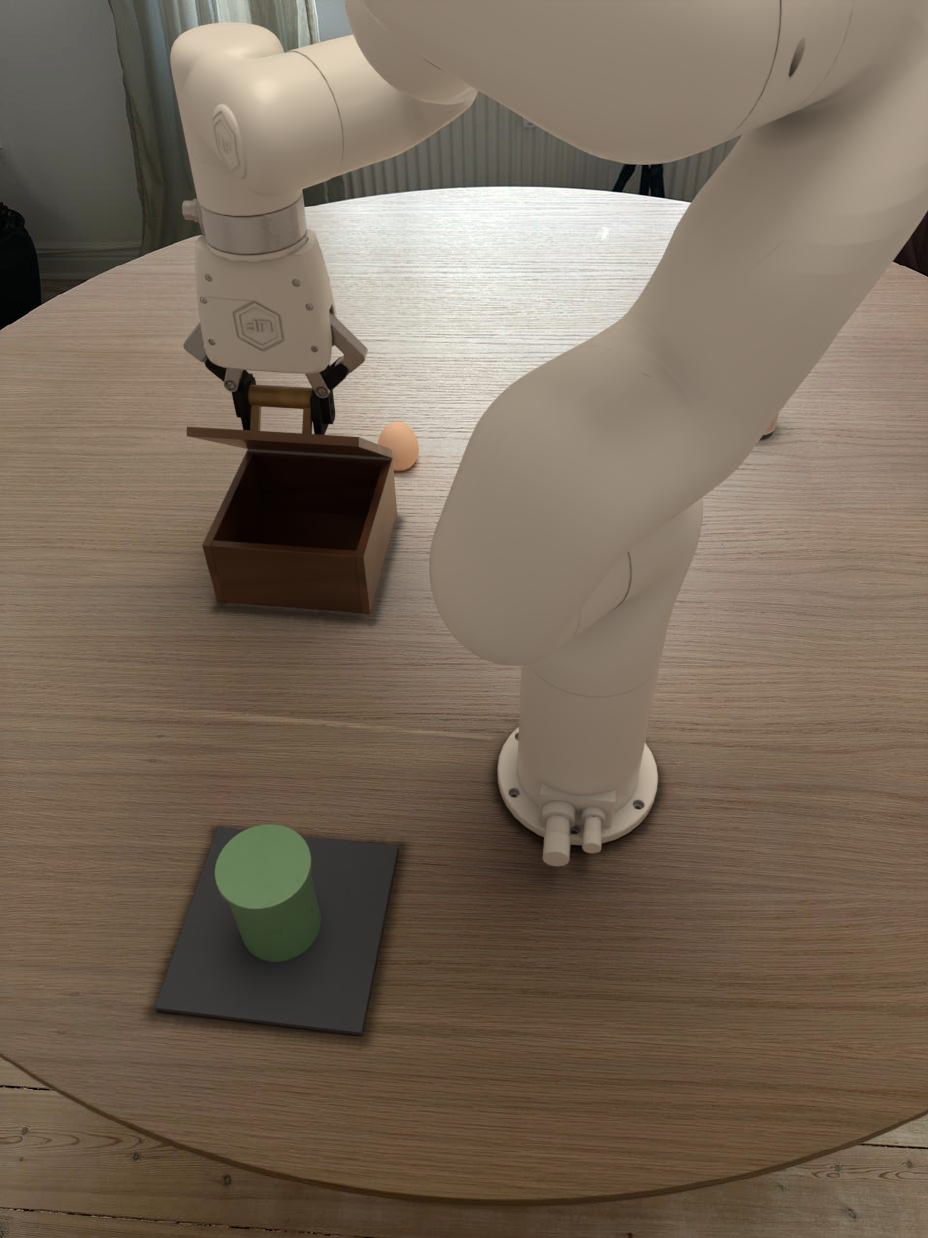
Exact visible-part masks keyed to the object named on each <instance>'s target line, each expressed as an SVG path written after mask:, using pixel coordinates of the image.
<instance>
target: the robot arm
mask: <svg viewBox="0 0 928 1238" xmlns="http://www.w3.org/2000/svg"><path fill="white" fill-rule="evenodd" d="M344 7H345V12H346V16H347V21H348V24H349V27H350V30H351V33H352V34H349V35H345V36H341V37H337V38H332V39H327V40H324V41H320V42H316V43H313V44H309V45H305V46H302V47H298V48H294V49H290V50H287V51H285V50H284V47H283V45H282V43H281V41H280V39H279V38H278V37H277V35H276V34H275V33H274V32H272V31H271V30H269V29H268V28H266V27H264V26H261V25H257V24H253V23H249V22H239V21H225V22H224V21H223V22H213V23H207V24H203V25H198V26H195V27H193V28H191V29H189V30H186V31H184V32H183V33H181V34H180V35H178V37H177V38H176V39H175V40H174V42H173V44H172V45H171V49H170V56H169V57H170V58H169V59H170V70H171V75H172V80H173V86H174V90H175V94H176V96H175V97H176V100H177V105H178V110H179V115H180V120H181V125H182V130H183V135H184V141H185V144H186V150H187V155H188V160H189V165H190V170H191V176H192V179H193V184H194V185H193V186H194V190H195V194H196V198H193V199H192V200H183V202H182V205H181V213H182V217H183V219H184V220H185V221H193V222H194V223H198V224H199V227H200V232H201V234H200V236H199V237H197V239H196V241H195V244H194V270H195V271H194V272H195V286H196V287H195V288H196V296H197V297H196V299H197V308H198V316H199V322H198V323H197V325H196V326H195V327H194V328H193V329H192V331H191V332H190V333H189V335H188V336H187V338H186V339H185V340H184V342H183V345H182V346H183V349H184V351H186V352H187V353H189V355H191V356H192V357H194V358H195V359H196V360H197V361H199V362H200V363H203V364H204V366H205V368H206V369H207V370H209V372H211V373H212V374H213V375H214V376H215V377H216V378H218V379H219V380H221V382H223V387H224V389H225V390H226V391H228V392H230V393H231V398H232V403H233V406H234V411H235V416H236V418H239V419H240V421H241V427H242V430H250V426H251V406H250V404H249V401H248V389H249V386H250V385H251V384H254V385H257V380H256V377H255V376H254V374H253V373H251V372H253V371H254V372H255V371H256V372H267V373H281V374H282V373H285V374H299V375H302V374H303V375H305V377H306V379H307V381H308V383H309V384H310V387H311V388H313V393H312V395H311V397H310V407H311V414H312V429H313V434H319V435H326V433H327V430H328V427H329V425H334V423H335V420H336V406H335V398H334V390H335V389H336V388H337V387H338V386H339V385H340V384H341V383H342V382H343V381H344V380H345V379H346V378H347V377H348V375H349V374H351V373H353V372H354V371H355V370H356V369H357V368H359V367H360V366H361V365H363V364H364V363H365V362H366V360H367V356H368V353H369V350H368V348H367V346H366V345H365V344H364V343H363V342H362V341H361V340H359V339H358V338H357V336H355V334H353V333H352V332H351V331H350V330H349V328H347V326H345V325H344V324H343V323H342V322H341V320H339V319H338V318H337V317H338V316H337V311H336V304H335V299H334V295H333V290H332V285H331V280H330V276H329V272H328V268H327V264H326V262H325V257H324V255H323V251H322V248H321V245H320V242H319V239H318V237H317V234H316V232H315V231H314V230H313V229H309V228H308V225H307V217H306V207H305V201H304V193H303V190H304V189H307V188H311V187H313V186H316V185H319V184H321V183H324V182H327V181H329V180H331V179H333V178H336V177H338V176H342V175H344V174H347V173H350V172H353V171H357V170H359V169H362V168H364V167H368V166H370V165H374V164H377V163H380V162H383V161H386V160H388V159H392V158H394V157H396V156H399V155H401V154H403V153H405V152H407V151H408V150H411V149H412V148H414V147H416V146H417V145H419V144H420V143H422V142H423V141H426V139H428V138H429V137H431V136H433V135H434V134H435V133H437V132H438V131H440V130H441V129H442V128H444V127H445V126H447V125H448V124H450V123H452V122H453V121H454V120H456V119H457V118H458V117H460V116H461V115H463V113H465V112H466V111H467V110H468V109H469V108H470V107H471V106H472V105H473V104H474V102H475V100H476V98H477V95H478V93H481V94H483V95H485V96H486V97H488V98H490V99H492V100H493V101H495V102H497V103H499V104H500V105H502V106H503V107H504V108H506V109H508V110H510V111H512V112H514V113H515V114H517V115H518V116H520V117H522V118H523V119H525V120H527V121H528V122H530V123H532V124H534V125H535V126H537V127H538V128H540V129H542V130H543V131H545V132H547V133H548V134H549V135H551V136H554V137H556V138H557V139H559V140H561V141H563V142H565V143H566V144H569V145H570V146H572V147H574V148H576V149H578V150H580V151H582V152H584V153H586V154H589V155H592V156H594V157H597V158H600V159H603V160H608V161H611V162H612V161H613V162H616V163H622V164H626V165H640V166H641V165H660V164H667V163H671V162H676V161H679V160H682V159H686V158H688V157H691V156H694V155H697V154H700V153H702V152H705V151H708V150H710V149H712V148H714V147H717V146H718V145H721V144H723V143H725V142H728V141H730V140H733V139H735V138H738V137H739V136H740V137H739V138H738V140H737V142H736V144H735V145H734V146H733V148H732V149H731V150H730V152H729V153H728V154H727V156H726V157H725V158H724V159H723V161H722V162H721V163H720V165H719V166H718V167H717V168H716V170H715V171H714V172H713V174H712V175H711V176H710V177H709V178H708V180H707V181H706V182H705V184H703V186H702V187H701V189H700V190H699V191H698V193H697V194H695V197H694V198H693V199H692V201H691V202H690V203H689V205H688V207H687V208H686V210H685V211H684V213H683V214H682V216H681V218H680V219H679V221H678V223H677V224H676V227H675V228H674V230H673V233H672V235H671V238H670V239H669V241H668V244H667V246H666V248H665V250H664V252H663V255H662V257H661V259H660V260H659V262H658V264H657V266H656V268H655V269H654V271H653V273H652V275H651V276H650V278H649V280H648V282H647V283H646V285H645V287H644V288H643V290H642V292H641V293H640V294H639V296H638V298H637V299H636V300H635V302H634V303H633V304H632V306H630V308H629V309H628V311H627V312H626V313H625V314H624V315H623V316H622V317H621V318H620V319H618V320H617V321H616V322H614V323H613V324H611V325H610V326H608V327H606V328H605V329H604V330H601V332H599V333H597V334H595V335H594V336H592V337H590V338H589V339H587V340H586V341H584V342H581V343H580V344H578V345H576V346H574V347H572V348H571V349H568V350H566V351H565V352H563V353H561V354H559V355H558V356H556V357H554V358H552V359H550V360H548V361H546V362H545V363H542V364H541V365H539V366H537V367H535V368H534V369H532V370H531V371H529V372H527V373H525V374H524V375H522V376H521V377H519V378H517V380H515V381H514V382H512V383H511V384H510V385H509V386H508V387H506V388H505V389H504V390H503V391H502V392H501V393H500V394H499V395H498V396H497V397H496V398H495V399H494V400H493V401H492V402H491V403H490V405H489V406H488V407H487V409H485V411H484V412H483V414H482V415H481V416H480V418H479V419H478V421H477V422H476V424H475V427H474V428H473V431H472V433H471V435H470V438H469V439H468V442H467V444H466V447H465V449H464V452H463V455H462V457H461V460H460V462H459V465H458V467H457V471H456V472H455V476H454V479H453V481H452V484H451V486H450V489H449V492H448V495H447V497H446V500H445V502H444V505H443V508H442V510H441V512H440V515H439V518H438V521H437V524H436V526H435V528H434V532H433V537H432V539H431V544H430V551H429V559H428V561H429V562H428V572H429V583H430V589H431V594H432V597H433V600H434V604H435V606H436V609H437V611H438V614H439V616H440V618H441V620H442V622H443V624H444V626H445V627H446V628H447V630H448V631H449V633H450V634H451V636H453V638H454V639H455V640H456V641H457V642H458V643H459V644H460V645H461V646H462V647H463V648H465V649H466V650H468V651H469V652H470V653H472V654H473V655H475V656H477V657H478V658H480V659H482V660H485V661H487V662H490V663H492V664H497V665H501V666H502V665H503V666H510V667H511V666H514V667H515V666H521V667H520V687H519V690H520V691H519V710H518V712H519V713H518V714H519V715H518V726H517V727H516V728H515V729H514V730H513V731H512V732H511V734H510V735H509V736H508V738H507V739H506V740H505V742H504V744H503V745H502V748H501V750H500V753H499V755H498V761H497V784H498V789H499V793H500V796H501V798H502V800H503V803H504V804H505V806H506V808H507V809H508V810H509V812H510V813H511V815H512V816H513V817H514V818H515V819H516V820H517V821H518V822H519V823H520V824H521V825H523V826H524V827H525V828H527V829H528V830H530V831H531V832H533V833H535V834H536V835H538V836H539V837H542V838H544V839H543V849H542V850H543V851H542V861H543V862H544V863H545V864H546V865H548V866H552V867H564V866H566V865H568V864H569V862H570V856H571V855H570V854H571V846H581V848H582V851H583V852H585V853H588V854H597V853H600V852H601V850H602V844H605V843H608V842H612V841H616V840H617V839H619V838H621V837H623V836H625V835H628V834H629V833H631V832H632V831H633V830H634V829H636V828H637V827H638V826H639V825H641V824H642V822H643V821H644V820H645V819H646V817H647V816H648V815H649V813H650V811H651V809H652V808H653V804H654V803H655V799H656V795H657V792H658V785H659V783H658V782H659V773H658V767H657V762H656V760H655V757H654V754H653V752H652V750H651V749H650V747H649V746H648V744H647V742H646V741H647V740H646V739H647V734H648V729H649V725H650V724H649V723H650V719H651V713H652V708H653V703H654V697H655V692H656V687H657V681H658V677H659V676H658V675H659V671H660V666H661V662H662V658H663V652H664V647H665V642H666V637H667V633H668V629H669V625H670V621H671V617H672V613H673V610H674V607H675V604H676V601H677V599H678V596H679V593H680V591H681V588H682V586H683V583H684V582H685V579H686V576H687V574H688V572H689V569H690V567H691V565H692V562H693V560H694V557H695V554H696V550H697V548H698V545H699V542H700V537H701V532H702V527H703V521H704V499H703V498H704V497H705V496H707V495H708V494H709V493H710V492H712V491H713V490H714V489H716V488H717V487H718V486H720V484H722V483H723V482H725V481H726V480H727V479H728V478H729V477H731V476H732V475H733V474H734V473H735V472H736V471H737V470H738V469H739V468H740V466H741V465H742V464H743V463H744V462H745V461H746V459H747V458H748V457H749V455H750V454H751V453H752V451H753V450H754V448H755V447H756V445H757V444H758V443H759V441H760V440H761V438H762V437H763V436H764V435H763V434H764V433H765V431H766V430H767V428H768V427H769V425H770V424H771V423H772V421H773V420H774V418H775V417H776V416H777V414H778V413H779V414H780V412H781V411H782V409H783V408H784V407H785V405H786V404H787V403H788V402H789V400H790V399H791V398H792V397H793V395H794V394H795V393H796V391H797V390H798V389H799V388H800V386H801V385H802V384H803V382H804V381H805V380H806V378H807V377H808V375H809V374H810V373H812V371H813V369H814V368H815V367H816V365H817V364H818V363H819V362H820V360H821V359H822V358H823V356H824V355H825V353H826V352H827V350H828V349H829V348H830V346H831V344H832V343H833V342H834V340H835V339H836V337H837V336H838V334H839V333H840V332H841V330H842V329H843V328H844V326H845V325H846V324H847V322H848V321H849V319H850V318H851V317H852V315H853V314H854V313H855V311H856V310H857V309H858V307H859V306H860V305H861V303H862V302H863V301H864V300H865V298H866V297H867V296H868V295H869V294H870V292H871V291H872V289H873V288H874V287H875V286H876V284H877V283H878V281H879V280H880V279H881V278H882V276H883V275H884V273H886V271H887V270H888V268H889V267H890V266H891V264H892V263H893V262H894V260H895V259H896V258H897V256H899V253H900V252H901V251H902V249H903V248H904V246H905V245H906V243H907V242H908V241H909V240H910V238H911V236H912V235H913V233H914V232H915V231H916V229H917V228H918V226H919V225H920V223H921V222H922V220H923V219H924V217H925V216H926V214H927V213H928V0H344ZM334 346H335V347H336V348H337V349H338V350H339V351H340V352H341V353H342V354H343V355H342V356H339V357H338V358H336V360H334V361H333V362H332V363H331V359H332V351H333V350H332V349H333V347H334ZM249 371H251V372H250V373H249ZM779 414H778V415H779Z"/></svg>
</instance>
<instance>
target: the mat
mask: <svg viewBox="0 0 928 1238" xmlns="http://www.w3.org/2000/svg"><path fill="white" fill-rule="evenodd" d="M242 831H244V830H241V829H232V828H222V827H217V829H216V831H215V834H214V837H213V839H212V843H211V846H210V849H209V852H208V855H207V857H206V860H205V863H204V866H203V869H202V872H201V875H200V877H199V880H198V884H197V886H196V888H195V892H194V894H193V897H192V900H191V903H190V906H189V909H188V912H187V915H186V918H185V921H184V923H183V926H182V929H181V932H180V935H179V937H178V941H177V943H176V947H175V949H174V952H173V955H172V957H171V958H172V959H171V960H170V964H169V966H168V969H167V972H166V975H165V978H164V980H163V983H162V986H161V989H160V991H159V995H158V998H157V1001H156V1003H155V1006H154V1009H155V1010H156V1012H165V1013H173V1014H181V1015H189V1016H199V1017H206V1018H213V1019H214V1018H215V1019H223V1020H230V1021H238V1022H239V1021H240V1022H246V1023H256V1024H263V1025H272V1026H279V1027H288V1028H297V1029H304V1030H305V1029H306V1030H313V1031H314V1030H315V1031H322V1032H329V1033H338V1034H346V1035H354V1036H363V1034H364V1033H363V1032H364V1028H365V1023H366V1018H367V1012H368V1007H369V1004H370V1003H369V1001H370V997H371V993H372V992H371V991H372V987H373V982H374V977H375V973H376V966H377V961H378V955H379V951H380V946H381V940H382V936H383V930H384V925H385V921H386V916H387V910H388V906H389V900H390V894H391V891H392V890H391V889H392V884H393V880H394V875H395V871H396V870H395V869H396V864H397V859H398V854H399V846H398V845H389V844H381V843H379V844H378V843H371V842H370V843H368V842H359V841H349V840H341V839H331V838H320V837H313V836H312V837H310V836H302V835H300V836H301V837H302V838H303V839H304V840H305V842H306V843H307V845H308V847H309V850H310V854H311V858H312V870H311V877H312V881H313V886H314V890H315V894H316V898H317V902H318V906H319V910H320V915H321V925H320V930H319V933H318V935H317V937H316V939H315V941H314V942H313V943H312V945H311V946H310V947H309V948H308V949H307V950H306V951H305V952H303V953H302V954H300V955H299V956H297V957H295V958H293V959H290V960H287V961H282V962H270V961H265V960H262V959H260V958H258V957H256V956H254V955H253V954H252V953H251V952H250V951H249V950H248V949H247V948H246V946H245V944H244V942H243V940H242V937H241V934H240V932H239V929H238V926H237V924H236V921H235V918H234V916H233V913H232V910H231V908H230V905H229V903H228V902H226V901H225V899H224V898H223V897H222V896H221V894H220V892H219V890H218V887H217V884H216V880H215V866H216V862H217V859H218V857H219V854H220V853H221V851H222V849H223V848H224V847H225V845H226V844H227V843H228V842H229V841H230V840H231V839H232V838H233V837H235V836H236V835H238V834H239V833H241V832H242Z"/></svg>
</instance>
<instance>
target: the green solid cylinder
mask: <svg viewBox="0 0 928 1238" xmlns="http://www.w3.org/2000/svg"><path fill="white" fill-rule="evenodd" d="M301 836H302V835H300V834H299V833H298V832H297V831H295V830H293V829H292V828H290V827H287V826H284V825H281V824H273V823H268V824H267V823H266V824H260V825H254V826H251V827H249V828H246V829H245V830H243V831H242V832H241V833H239V834H238V835H236V836H235V837H233V838H232V839H231V840H230V841H229V842H228V843H227V844H226V845H225V847H224V848H223V849H222V851H221V853H220V854H219V857H218V859H217V862H216V866H215V880H216V884H217V887H218V890H219V892H220V894H221V896H222V897H223V898H224V899H225V901H226V902H228V903H229V905H230V908H231V910H232V913H233V916H234V918H235V921H236V924H237V926H238V929H239V932H240V934H241V937H242V940H243V942H244V944H245V946H246V948H247V949H248V950H249V951H250V952H251V953H252V954H253V955H254V956H256V957H258V958H260V959H262V960H265V961H270V962H282V961H287V960H290V959H293V958H295V957H297V956H299V955H300V954H302V953H303V952H305V951H306V950H307V949H308V948H309V947H310V946H311V945H312V943H313V942H314V941H315V939H316V937H317V935H318V933H319V930H320V925H321V915H320V910H319V906H318V902H317V898H316V894H315V890H314V886H313V881H312V877H311V870H312V858H311V854H310V850H309V847H308V845H307V843H306V842H305V840H304V839H303V838H302V837H303V836H302V837H301Z"/></svg>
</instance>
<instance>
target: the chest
mask: <svg viewBox="0 0 928 1238" xmlns="http://www.w3.org/2000/svg"><path fill="white" fill-rule="evenodd" d="M396 493H397V492H396V483H395V471H394V468H393V458H384V457H368V456H352V455H336V454H320V453H304V452H288V451H272V450H256V449H246V451H245V454H244V455H243V457H242V460H241V461H240V464H239V466H238V468H237V471H236V472H235V475H234V477H233V479H232V481H231V483H230V485H229V488H228V490H227V491H226V494H225V496H224V497H223V500H222V503H221V505H220V507H219V509H218V511H217V513H216V514H215V517H214V519H213V521H212V524H211V525H210V527H209V530H208V532H207V533H206V536H205V538H204V540H203V542H202V551H203V554H204V557H205V561H206V565H207V569H208V572H209V576H210V580H211V584H212V587H213V591H214V595H215V598H216V602H217V603H223V604H225V603H226V604H234V605H235V604H236V605H248V606H263V607H276V608H286V609H300V610H310V611H311V610H312V611H325V612H337V613H351V614H363V615H371V612H372V609H373V605H374V602H375V598H376V595H377V590H378V587H379V583H380V579H381V576H382V572H383V568H384V565H385V561H386V557H387V554H388V550H389V546H390V544H391V539H392V536H393V531H394V528H395V524H396V521H397V517H398V505H397V495H396Z"/></svg>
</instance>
